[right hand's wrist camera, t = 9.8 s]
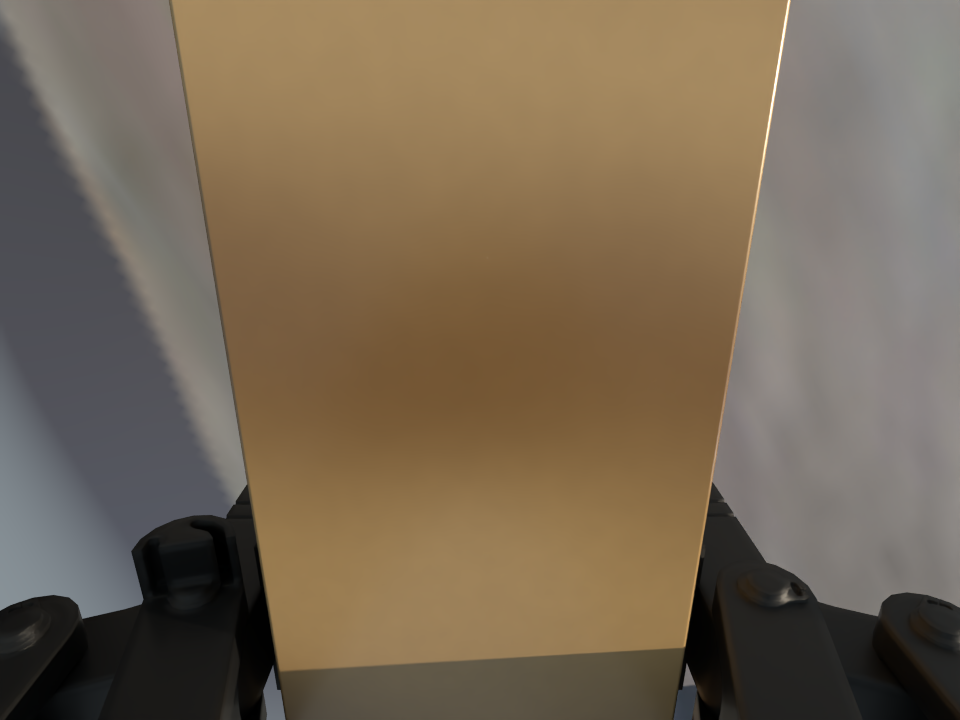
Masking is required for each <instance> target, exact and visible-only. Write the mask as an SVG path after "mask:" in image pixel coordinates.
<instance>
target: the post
mask: <svg viewBox="0 0 960 720" xmlns="http://www.w3.org/2000/svg"><path fill="white" fill-rule="evenodd" d="M790 1H791V0H169V4H170V10H171V16H172V22H173V29H174V35H175V41H176V47H177V53H178V59H179V66H180V72H181V78H182V84H183V90H184V96H185V103H186V109H187V115H188V121H189V127H190V133H191V140H192V146H193V152H194V158H195V164H196V170H197V176H198V183H199V189H200V195H201V201H202V207H203V213H204V220H205V226H206V232H207V238H208V244H209V250H210V257H211V263H212V269H213V275H214V281H215V287H216V294H217V300H218V306H219V312H220V318H221V324H222V331H223V337H224V343H225V349H226V355H227V361H228V367H229V374H230V380H231V386H232V392H233V398H234V404H235V411H236V417H237V423H238V429H239V435H240V441H241V448H242V454H243V460H244V466H245V472H246V478H247V485H248V491H249V497H250V503H251V509H252V515H253V522H254V528H255V534H256V540H257V546H258V552H259V558H260V565H261V571H262V577H263V583H264V589H265V595H266V602H267V608H268V614H269V620H270V626H271V632H272V639H273V645H274V651H275V657H276V663H277V669H278V676H279V682H280V688H281V694H282V700H283V706H284V713H285V719H286V720H673V719H674V713H675V706H676V700H677V694H678V688H679V682H680V676H681V670H682V663H683V657H684V651H685V645H686V639H687V633H688V627H689V621H690V614H691V608H692V602H693V596H694V590H695V584H696V578H697V572H698V565H699V559H700V553H701V547H702V541H703V535H704V529H705V522H706V516H707V510H708V504H709V498H710V492H711V486H712V480H713V473H714V467H715V461H716V455H717V449H718V443H719V437H720V431H721V424H722V418H723V412H724V406H725V400H726V394H727V388H728V381H729V375H730V369H731V363H732V357H733V351H734V345H735V339H736V332H737V326H738V320H739V314H740V308H741V302H742V296H743V290H744V283H745V277H746V271H747V265H748V259H749V253H750V247H751V240H752V234H753V228H754V222H755V216H756V210H757V204H758V198H759V191H760V185H761V179H762V173H763V167H764V161H765V155H766V148H767V142H768V136H769V130H770V124H771V118H772V112H773V106H774V99H775V93H776V87H777V81H778V75H779V69H780V63H781V57H782V50H783V44H784V38H785V32H786V26H787V20H788V14H789V7H790Z"/></svg>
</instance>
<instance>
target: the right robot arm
mask: <svg viewBox="0 0 960 720" xmlns="http://www.w3.org/2000/svg"><path fill="white" fill-rule="evenodd" d="M131 552H132V556H133V560H134V564H135V568H136V571H137V575H138V579H139V583H140V587H141V591H142V595H143V599H144V600H143V603H142V604H141V605H138V606H134V607H131V608H128V609H124V610H120V611H115V612H111V613H107V614H102V615H98V616H93V617H89V618H85V619H82V617H81V614H80V610H79V607H78V605H77V604H76V603H75V602H74V601H73V600H71V599H70V598H68V597H62V596H56V595H50V596H43V597H35V598H31V599H28V600H25V601H22V602H19V603H16V604H13V605H10V606H8V607H6V608H5V609H3V610H1V611H0V720H266V717H267V712H266V706H265V699H264V694H263V689H264V687H265V684H266V682H267V679H268V676H269V674H270V671H271V669H272V666H274V672H275V678H276V684H277V690H281V688H280V682H279V676H278V669H277V663H276V657H275V651H274V645H273V639H272V632H271V626H270V620H269V614H268V608H267V602H266V595H265V589H264V583H263V577H262V571H261V565H260V558H259V552H258V546H257V540H256V534H255V528H254V522H253V515H252V509H251V503H250V497H249V491H248V485H246V487H245V488H244V490H243V491H242V493H241V494H240V496H239V497H238V499H237V500H236V505H233V506H232V508H231V509H230V511H229V512H228V514H227V518H226V519H224V518H221V517H216V516H213V515H199V516H190V517H186V518H182V519H177V520H174V521H171V522H169V523H167V524H164V525H162V526H160V527H158V528H155V529H154V530H153V531H151V532H150V533H149V534H147V535H146V536H144V537H143V538H141V539H140V541H139V542H138V543H137V544H136V546H135V547H134V549H133V550H132V551H131ZM686 664H688V667H689V669H690V672H691V675H692V677H693V680H694V682H695V685H696V687H697V694H696V699H695V705H694V710H693V716H692V720H960V608H959V607H957V606H955V605H953V604H951V603H949V602H946V601H943V600H941V599H937V598H934V597H931V596H928V595H922V594H914V593H901V594H895V595H891V596H889V597H888V598H887V599H886V600H885V601H884V602H882V605H881V609H880V612H879V615H878V616H873V615H869V614H864V613H860V612H855V611H851V610H847V609H842V608H838V607H834V606H830V605H827V604H824V603H820V602H818V601H817V599H816V597H815V596H814V594H813V593H812V591H811V590H810V588H809V587H808V585H806V584H805V583H804V582H803V581H801V580H800V579H799V578H798V577H797V576H795V575H794V574H792V573H790V572H788V571H786V570H784V569H782V568H780V567H778V566H776V565H773V564H769V563H766V561H765V560H764V558H763V557H762V555H761V554H760V552H759V551H758V549H757V548H756V546H755V545H754V543H753V542H752V540H751V539H750V537H749V536H748V534H747V533H746V531H745V530H744V528H743V527H742V525H741V524H740V522H739V521H738V519H737V518H736V517H734V516H733V512H732V510H731V509H730V507H729V506H728V504H727V503H724V498H723V497H722V496H721V494H720V493H719V491H718V490H717V488H716V487H715V485H714V484H713V482H712V486H711V492H710V498H709V504H708V510H707V516H706V522H705V529H704V535H703V541H702V547H701V553H700V559H699V565H698V572H697V578H696V584H695V590H694V596H693V602H692V608H691V614H690V621H689V627H688V633H687V639H686V645H685V651H684V657H683V663H682V670H681V676H680V682H679V688H678V690H682V688H683V682H684V676H685V670H686Z"/></svg>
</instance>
